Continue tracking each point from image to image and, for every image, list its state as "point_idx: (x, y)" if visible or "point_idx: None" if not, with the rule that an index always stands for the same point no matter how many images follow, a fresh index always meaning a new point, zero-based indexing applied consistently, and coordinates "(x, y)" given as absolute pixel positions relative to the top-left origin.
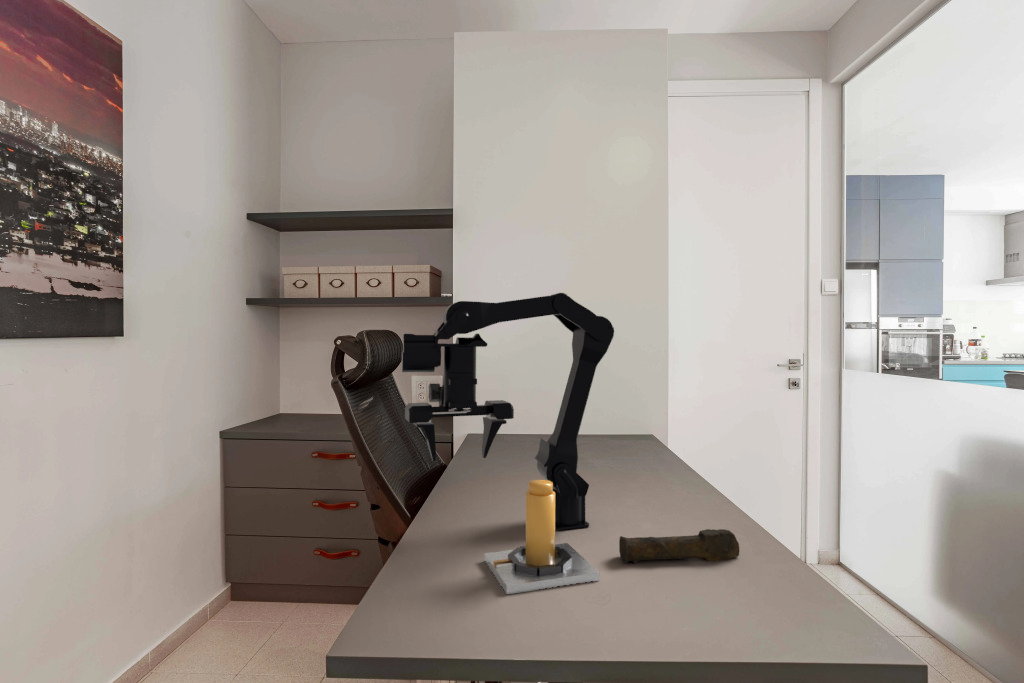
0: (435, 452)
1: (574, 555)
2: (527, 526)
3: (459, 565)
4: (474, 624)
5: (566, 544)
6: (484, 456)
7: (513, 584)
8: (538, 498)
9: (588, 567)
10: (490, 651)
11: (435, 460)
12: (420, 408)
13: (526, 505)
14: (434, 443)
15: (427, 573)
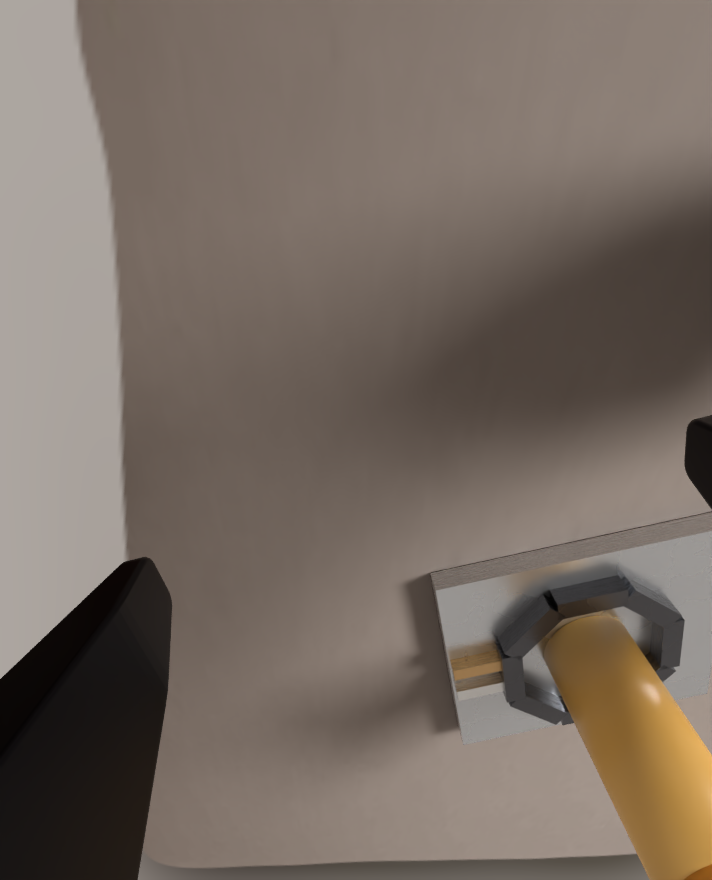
0: (159, 710)
1: (701, 610)
2: (597, 770)
3: (349, 595)
4: (376, 805)
5: None
6: (699, 490)
7: (480, 740)
8: None
9: (695, 673)
10: (397, 853)
11: (171, 605)
12: None
13: (634, 841)
14: (128, 865)
15: (254, 636)
